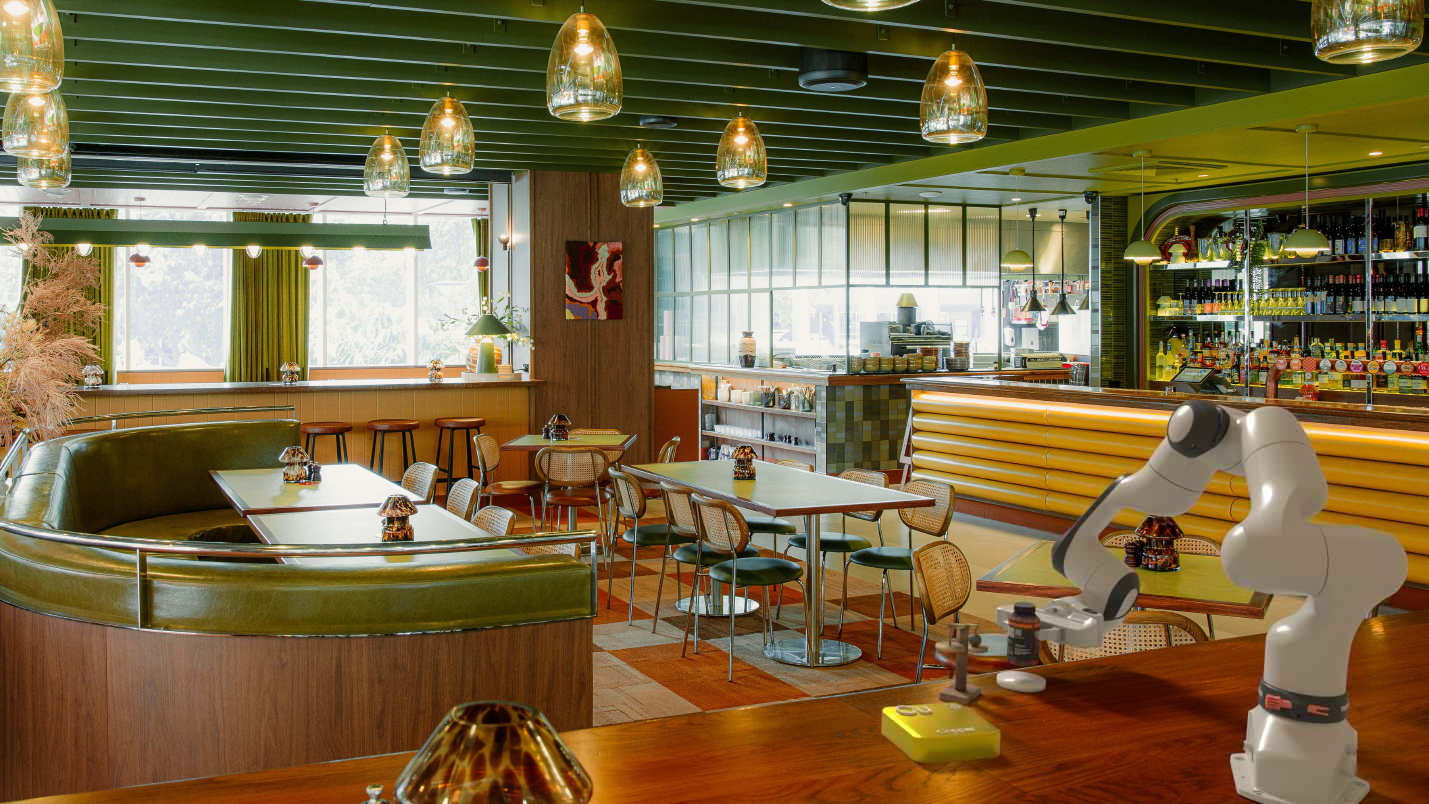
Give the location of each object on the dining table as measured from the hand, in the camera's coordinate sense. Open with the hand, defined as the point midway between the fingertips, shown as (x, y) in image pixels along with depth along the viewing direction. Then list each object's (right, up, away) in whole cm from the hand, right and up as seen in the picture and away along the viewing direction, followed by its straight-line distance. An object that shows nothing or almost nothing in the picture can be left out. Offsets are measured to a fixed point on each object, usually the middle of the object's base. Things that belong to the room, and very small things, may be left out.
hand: (1021, 630), depth 206 cm
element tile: (-22, -12, -31) cm, 40 cm away
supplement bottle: (+1, -6, +1) cm, 6 cm away
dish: (0, -10, +1) cm, 11 cm away
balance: (-13, -10, -7) cm, 18 cm away
